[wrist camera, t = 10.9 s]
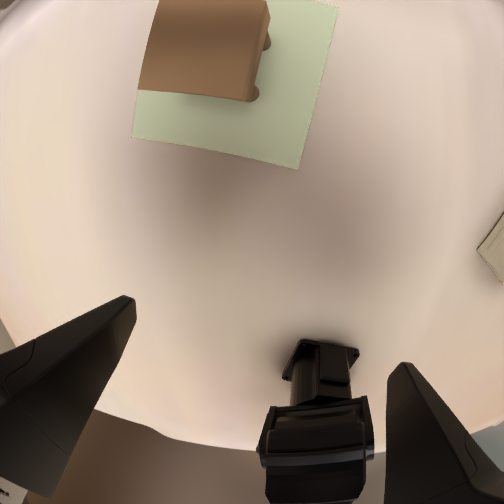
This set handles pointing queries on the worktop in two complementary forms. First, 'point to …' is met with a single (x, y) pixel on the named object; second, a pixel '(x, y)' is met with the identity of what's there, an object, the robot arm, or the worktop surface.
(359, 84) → the worktop surface
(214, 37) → the toy stool
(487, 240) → the supplement box
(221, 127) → the sage mat
